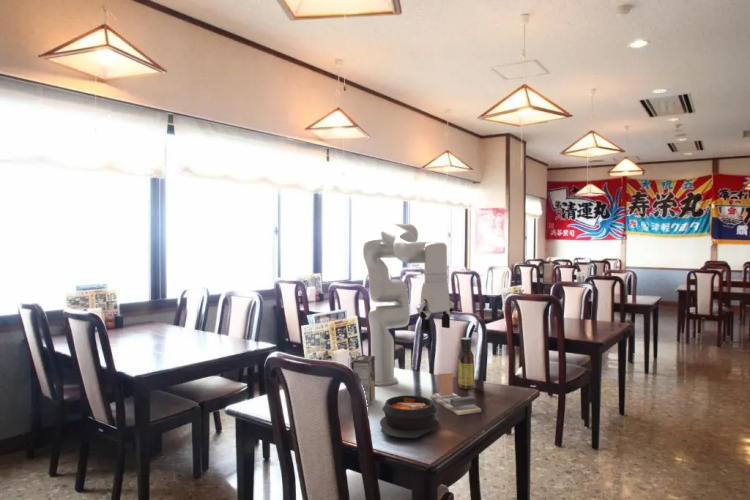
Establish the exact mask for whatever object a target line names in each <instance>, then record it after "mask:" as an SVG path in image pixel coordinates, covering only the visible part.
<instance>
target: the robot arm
mask: <svg viewBox="0 0 750 500" xmlns="http://www.w3.org/2000/svg"><path fill="white" fill-rule="evenodd" d="M380 236H381V237H380ZM380 236H379V237H370V238H368V239H366V240H365V242H364V244H363V248H362V249H363V250H362V253H363V258H364V262H365V265H366V268H367V273H368V274H367V275H368V285H369V286H368V287H369V295H370V298H371V300H372V302H374V303H393V304H392V305H390V304H389V305H388V304H386V305H378V306H374V307H372V308H371V309H370V310H369V312H368V324H369V331H370V356H375V386H378V387H379V386H380V387H381V386H384V387H385V386H391V385H392V386H393V385H395V384H397V383H398V382H399V380H398V377H396V376H395V361H394V360H395V343H394V336H393V335H392V334H391V332H390V330H389V329H399V328H404V327H407V326H408V325H409V323H410V317H411V315H410V312H411V311H410V304H409V303H410V302H409V295H408V294H409V293H408V288H407V285H406V283H405V281H403V280H402V279H400V278H399V279H398V278H397V279H396V278H395V279H394V278H393V279H390V274H389V268H388V266H387V264H386V263H385V261H383V260H382V258H383V259H384V258H387V259H388V258H389V259H390V258H392V259H395V258H396V259H397V260H399V261H401V262H402V263H406V264H424V282H423V283H422V286H421V291H420V303H419V304H418V305H417V306H416V307H415V308H416V310H417V314H418V316H419V317H420V320H421V331H422V332H423V331H424V332H430V331H431V320H430V319H429V318H430V316H431V314H437V313H438V314H439V313H441V314H442V315H441V328H446V329H450V328H451V326H450V325H451V323H450V321H451V316H452V313H453V310H454V307H455V302H453V301H452V300H450V291H449V290H450V289H449V284H448V277H449V276H448V252H447V251H448V248H447V247H448V246H447V244H446V243H444V242H434V241H433V242H432V241H418V237H419V232H418V229H417V228H416V227H415V226H414V225H413V224H411V223H390V224H389V223H388V224H387V225H385V226H384V227H383V228H382V229H381V233H380Z"/></svg>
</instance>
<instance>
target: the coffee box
mask: <svg viewBox="0 0 750 500" xmlns="http://www.w3.org/2000/svg"><path fill="white" fill-rule="evenodd" d="M353 370H354V371H355V372H356V373H357V374H358V376H359V377H360V379H361V382H362V385H363V388H364V391H365V395H366V400H367V404H368V406H367V407H370V406H371V405H372V403H374V401H375V399H376V385H375V356H371V355H358V356H357V357H356V358H354V360H352V371H353Z"/></svg>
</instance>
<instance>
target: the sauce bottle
mask: <svg viewBox="0 0 750 500" xmlns="http://www.w3.org/2000/svg"><path fill="white" fill-rule="evenodd" d="M471 343H472V338H471V337H468V336H467V337H466V336H463V337H461V338H460V345H461V347H460V350H459V351H460V352H459V354H458V358H457V359H458V360H457V364H458V365H457V366H458V367H457V368H458V370H457V371H458V381H457V382H458V387H459V388H460V389H463V390H471V389H474V387H475V360H474V359H475V357H474V353H473V351H472V347H471V346H472V345H471Z"/></svg>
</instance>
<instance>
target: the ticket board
mask: <svg viewBox="0 0 750 500" xmlns="http://www.w3.org/2000/svg"><path fill="white" fill-rule="evenodd" d="M430 400H432V401H434V402H437V403H438V404H439V405H441V406H442V407H444V408H446V409H447V410H450V411H451V412H453V413H454V414H455V415H457V416H461V415H467V414H476V413H482V408H481V407H479V406H477V405H476V397H474V396H472V395H469V396H462V397H461V396H459V395H458V396H451V397H443V398H441V399H439V398H437V397H436V396H434V394H431V395H430Z"/></svg>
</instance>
